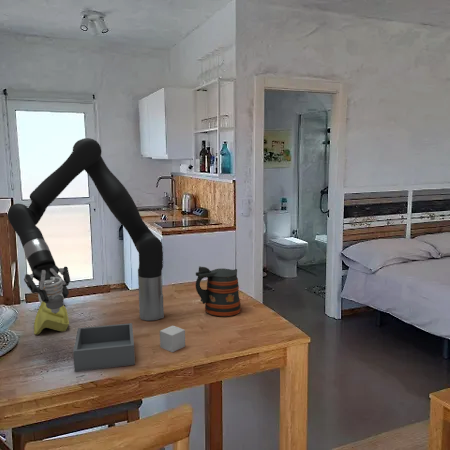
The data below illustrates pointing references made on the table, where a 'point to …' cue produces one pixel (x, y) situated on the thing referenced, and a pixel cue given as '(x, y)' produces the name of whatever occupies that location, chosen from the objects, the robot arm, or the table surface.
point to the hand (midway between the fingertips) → (56, 299)
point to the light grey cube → (172, 338)
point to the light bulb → (55, 299)
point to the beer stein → (219, 291)
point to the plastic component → (50, 319)
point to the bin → (104, 347)
